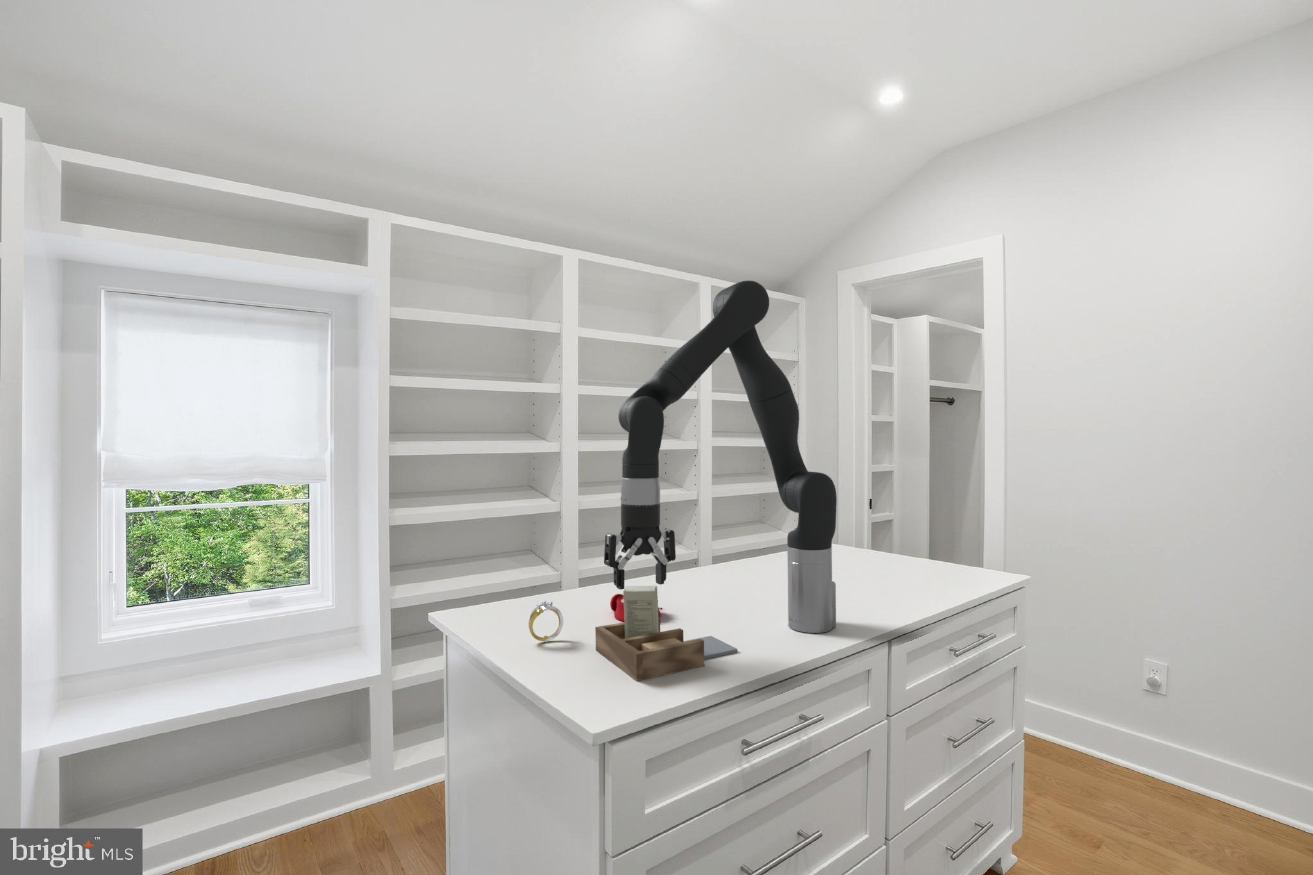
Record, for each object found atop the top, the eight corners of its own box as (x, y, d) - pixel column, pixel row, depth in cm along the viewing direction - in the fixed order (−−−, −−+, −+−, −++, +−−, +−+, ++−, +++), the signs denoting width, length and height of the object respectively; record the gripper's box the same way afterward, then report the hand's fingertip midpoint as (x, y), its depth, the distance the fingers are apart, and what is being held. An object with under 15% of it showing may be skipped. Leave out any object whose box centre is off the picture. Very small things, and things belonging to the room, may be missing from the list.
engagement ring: (530, 646, 121) (529, 605, 121) (527, 641, 124) (527, 601, 124) (564, 641, 124) (564, 602, 124) (561, 637, 127) (561, 598, 127)
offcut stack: (678, 657, 115) (678, 636, 115) (691, 665, 111) (690, 643, 111) (640, 665, 111) (639, 643, 111) (651, 674, 107) (651, 651, 107)
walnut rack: (657, 638, 125) (657, 616, 125) (704, 665, 110) (704, 640, 110) (595, 650, 119) (595, 627, 119) (636, 681, 103) (636, 654, 103)
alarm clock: (624, 610, 133) (604, 579, 147) (622, 637, 134) (602, 604, 148) (669, 605, 137) (646, 575, 151) (667, 631, 138) (644, 599, 152)
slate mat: (710, 638, 125) (710, 635, 125) (737, 652, 117) (737, 648, 117) (672, 646, 120) (672, 643, 120) (697, 660, 113) (697, 657, 113)
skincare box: (659, 648, 120) (659, 585, 120) (657, 656, 115) (656, 590, 115) (627, 647, 120) (626, 584, 120) (623, 655, 116) (623, 590, 116)
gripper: (615, 505, 111) (615, 595, 111) (682, 501, 118) (682, 585, 118) (598, 501, 118) (598, 586, 117) (663, 498, 124) (663, 578, 124)
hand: (640, 586), depth 118 cm, fingers open, 8 cm apart
